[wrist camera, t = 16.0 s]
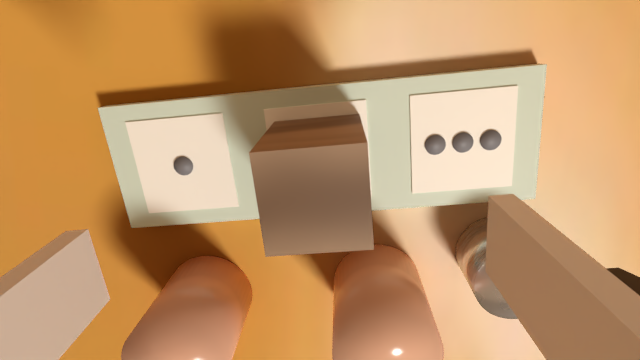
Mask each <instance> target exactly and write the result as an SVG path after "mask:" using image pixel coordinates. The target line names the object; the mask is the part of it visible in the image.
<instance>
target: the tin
mask: <svg viewBox="0 0 640 360" xmlns="http://www.w3.org/2000/svg"><path fill="white" fill-rule="evenodd" d="M487 220H488V217H487V218H483V219H481V220H478V221H476V222H475V223H473V224H472V225H470V226H469V227H468V228H467V229H466V230H465V231H464V232H463V233H462V235H461V236H460V238H459V240H458V242H457V245H456V252H455V253H456V260H457V263H458V265H459V267H460V269H461V271H462V272H463V274H464V276H465V278H466V280H467V282H468V284H469V285H470V287H471V289H472V291H473V293H474V295H475V297H476V299H477V300H478V302H479V304H480V305H481V306H482V307H483V308H484V309H485V310H486V311H488V312H489V313H491V314H493V315H495V316H498V317H501V318H507V319H518V318H517V316H516V315H515V314H514V312H513V311H512V309H511V308H510V306H509V305H508V303H507V302H506V301H505V299H504V298H503V296H502V295H501V293H500V292H499V290H498V289H497V288H496V286H495V285H494V283H493V282H492V280H491V279H490V277H489V276H488V275H487V273H486V272H485V268H486V244H487Z"/></svg>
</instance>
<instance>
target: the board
mask: <svg viewBox="0 0 640 360" xmlns="http://www.w3.org/2000/svg"><path fill="white" fill-rule="evenodd" d="M546 67H547V64H528V65H518V66H507V67H497V68H487V69H477V70H466V71H456V72H446V73H435V74H425V75H415V76H405V77H394V78H384V79H374V80H363V81H353V82H343V83H333V84H322V85H312V86H302V87H291V88H281V89H271V90H261V91H250V92H240V93H230V94H219V95H209V96H199V97H189V98H178V99H168V100H158V101H147V102H137V103H127V104H117V105H107V106H103V107H99V108H98V110H99V114H100V118H101V121H102V125H103V128H104V132H105V135H106V139H107V142H108V146H109V150H110V153H111V157H112V160H113V164H114V167H115V171H116V175H117V178H118V182H119V185H120V189H121V192H122V196H123V200H124V203H125V207H126V210H127V214H128V217H129V221H130V224H131V228H139V227H153V226H167V225H180V224H194V223H208V222H222V221H236V220H249V219H260V218H259V212H258V206H257V200H256V194H255V188H254V181H253V175H252V169H251V163H250V157H249V152H250V151H251V149H252V148H253V147H254V146H255V145H256V143H257V142H258V141H259V140H260V138H261V137H262V136H263V135H264V134H265V132H266V131H267V130H268V129H269V127H270V126H271V125H272V124H273V123H274V121H285V120H296V119H307V118H318V117H329V116H340V115H351V114H359V115H360V118H361V122H362V125H363V129H364V132H365V136H366V139H367V142H368V158H369V175H370V191H371V207H372V211H374V210H387V209H401V208H415V207H429V206H443V205H456V204H470V203H484V202H488V197H489V196H493V195H505V194H514V195H515V196H517V197H518V198H519V199H520V200H526V199H535V198H536V186H537V174H538V162H539V150H540V138H541V126H542V115H543V103H544V91H545V79H546Z"/></svg>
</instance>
